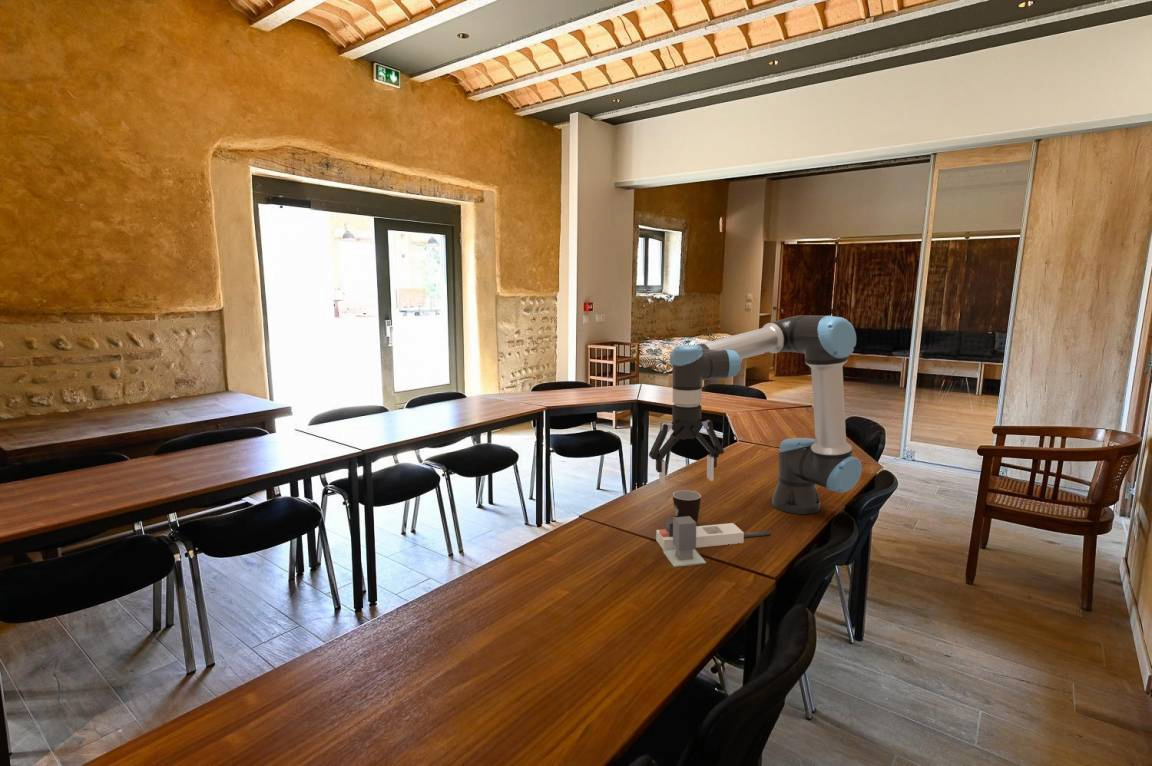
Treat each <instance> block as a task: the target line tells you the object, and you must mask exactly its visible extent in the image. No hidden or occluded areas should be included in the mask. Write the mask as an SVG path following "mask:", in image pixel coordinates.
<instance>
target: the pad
mask: <svg viewBox="0 0 1152 766" xmlns="http://www.w3.org/2000/svg"><path fill="white" fill-rule="evenodd" d="M662 553H663V554H664V556H665V557H666V559H668V561H669V562H670V564H671V565H672V567H674V568H677V567H679V568H680V567H685V566H686V567H689V566H696V565H705V564H707V562H706V560H705V559H704V558H703V557H702V555H700V554H699V552H698V551H697V549H693V559H686V560H680V559H679V558H678V557H677V555H676V549H674V550H662Z"/></svg>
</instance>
